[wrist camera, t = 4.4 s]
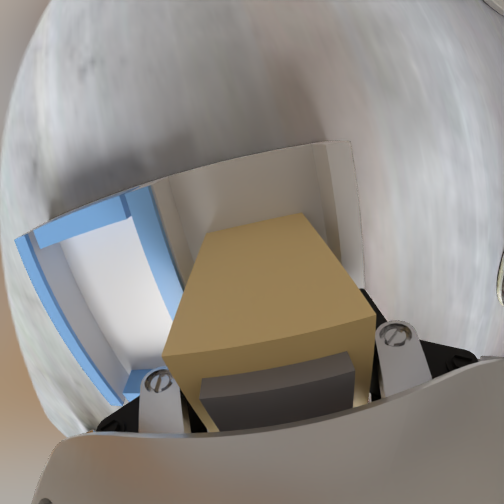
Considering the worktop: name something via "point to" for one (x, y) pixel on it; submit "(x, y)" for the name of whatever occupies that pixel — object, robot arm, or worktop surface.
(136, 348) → the slotted white base
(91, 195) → the worktop surface
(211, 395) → the plug
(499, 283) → the coffee can
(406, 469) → the robot arm
